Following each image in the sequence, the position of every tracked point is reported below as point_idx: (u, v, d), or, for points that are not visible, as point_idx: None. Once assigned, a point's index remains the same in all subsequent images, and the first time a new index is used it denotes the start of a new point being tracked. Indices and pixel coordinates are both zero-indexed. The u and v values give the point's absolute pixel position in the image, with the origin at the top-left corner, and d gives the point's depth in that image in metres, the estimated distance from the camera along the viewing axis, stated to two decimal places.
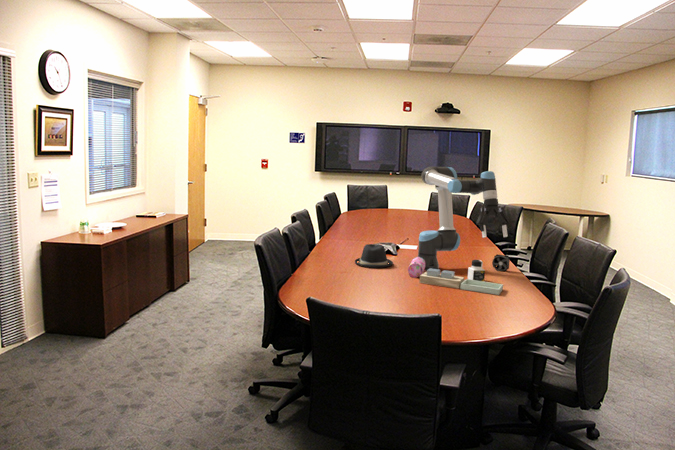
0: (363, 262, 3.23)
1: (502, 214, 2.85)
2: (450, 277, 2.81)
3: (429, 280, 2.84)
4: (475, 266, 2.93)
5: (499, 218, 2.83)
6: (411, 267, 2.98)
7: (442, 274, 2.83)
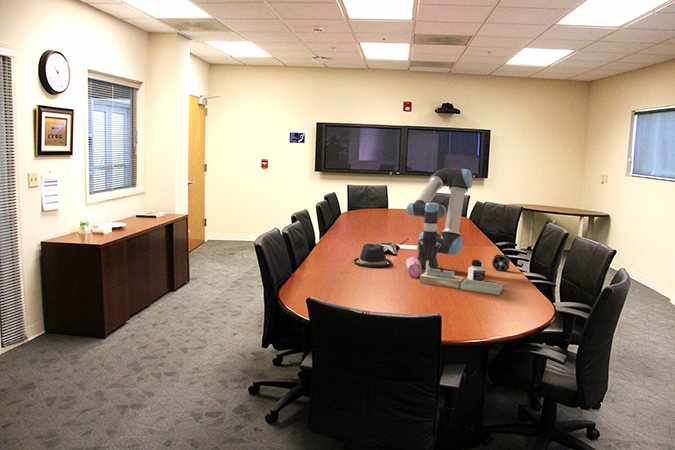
0: (362, 262, 3.25)
1: None
2: (450, 277, 2.81)
3: (429, 280, 2.84)
4: (475, 266, 2.93)
5: (430, 251, 2.88)
6: (411, 267, 2.98)
7: (442, 274, 2.83)
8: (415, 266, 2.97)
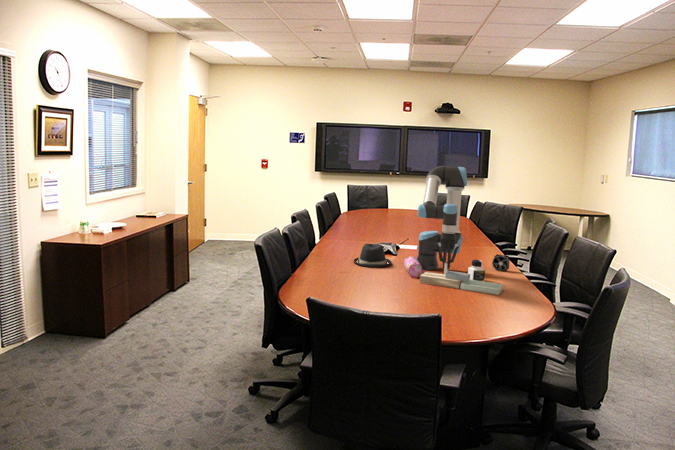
0: (362, 261, 3.25)
1: (454, 251, 2.81)
2: (466, 279, 2.77)
3: (429, 280, 2.84)
4: (475, 266, 2.93)
5: (448, 253, 2.83)
6: (412, 267, 2.97)
7: (458, 276, 2.79)
8: (415, 266, 2.97)
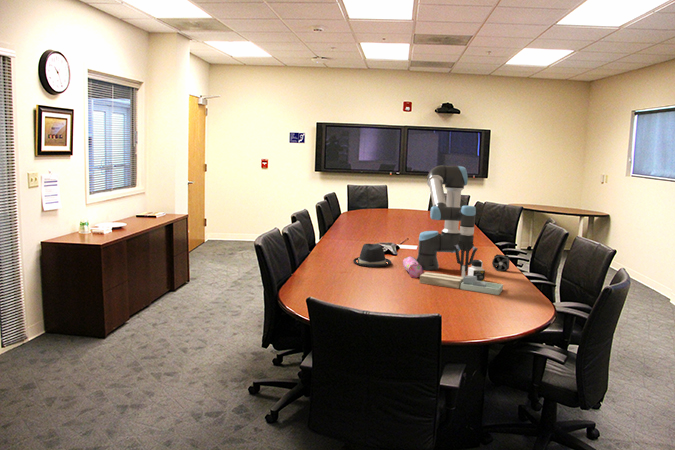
0: (362, 261, 3.25)
1: (472, 253, 2.77)
2: (474, 284, 2.76)
3: (429, 280, 2.84)
4: (475, 266, 2.93)
5: (466, 255, 2.79)
6: (412, 267, 2.97)
7: None
8: (415, 266, 2.97)
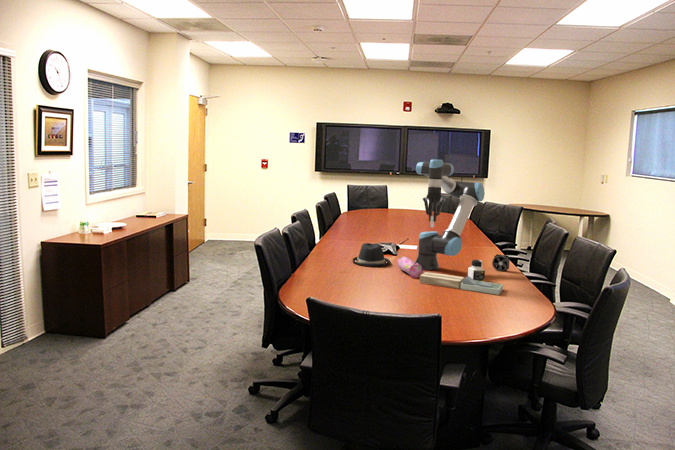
0: (361, 261, 3.27)
1: None
2: (479, 285, 2.74)
3: (429, 280, 2.84)
4: (475, 266, 2.93)
5: None
6: (412, 268, 2.97)
7: None
8: (416, 266, 2.97)
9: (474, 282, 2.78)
